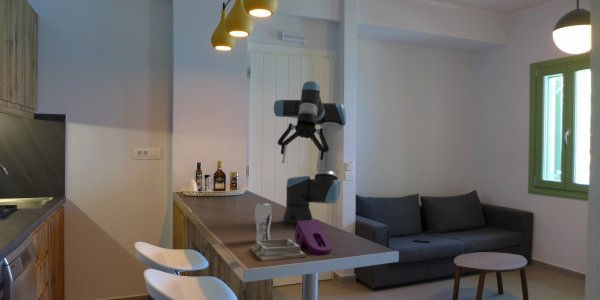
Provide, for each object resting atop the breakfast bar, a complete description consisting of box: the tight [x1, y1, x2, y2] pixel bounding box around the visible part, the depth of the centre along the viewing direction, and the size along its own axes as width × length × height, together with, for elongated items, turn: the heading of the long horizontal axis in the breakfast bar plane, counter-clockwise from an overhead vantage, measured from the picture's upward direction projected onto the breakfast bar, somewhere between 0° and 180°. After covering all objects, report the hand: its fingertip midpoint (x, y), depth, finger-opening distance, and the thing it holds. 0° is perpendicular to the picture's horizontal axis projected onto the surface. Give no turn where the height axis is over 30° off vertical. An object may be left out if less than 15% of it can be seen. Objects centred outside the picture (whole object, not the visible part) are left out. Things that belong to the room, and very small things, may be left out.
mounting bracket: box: [294, 219, 334, 255], centre depth 156 cm, size 10×8×18 cm
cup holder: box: [250, 237, 307, 262], centre depth 148 cm, size 16×16×4 cm
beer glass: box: [254, 202, 273, 241], centre depth 166 cm, size 7×7×15 cm
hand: (300, 164), depth 157 cm, fingers open, 13 cm apart
